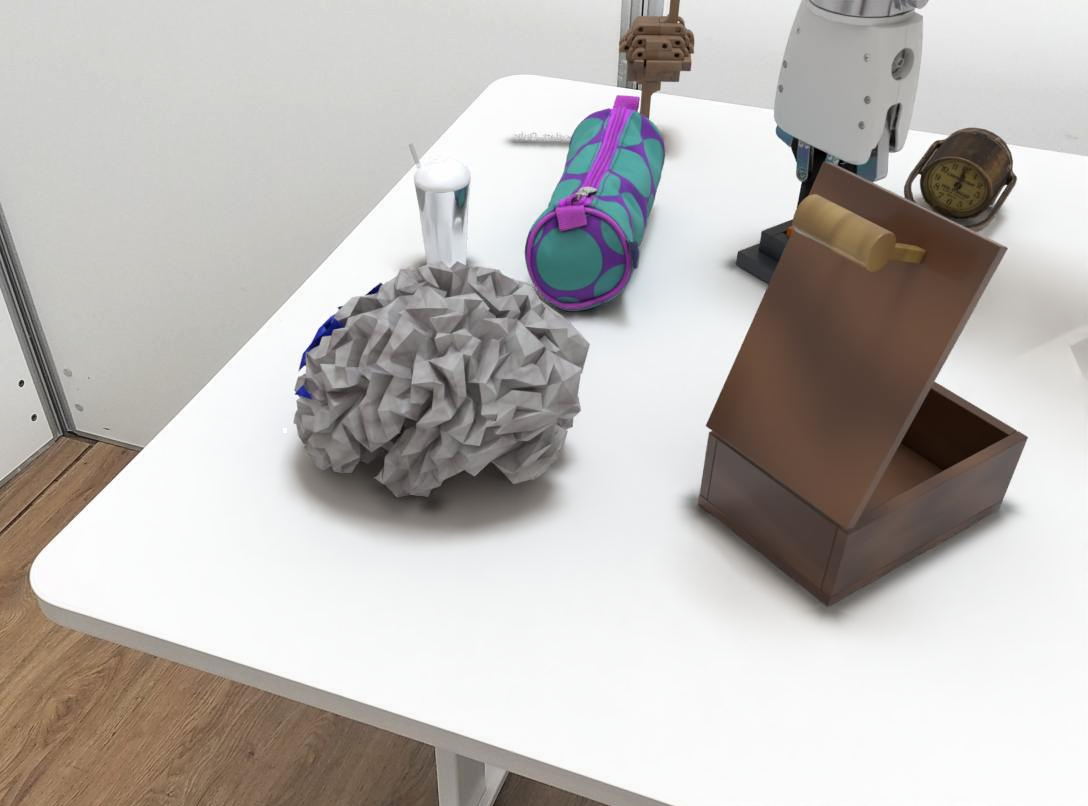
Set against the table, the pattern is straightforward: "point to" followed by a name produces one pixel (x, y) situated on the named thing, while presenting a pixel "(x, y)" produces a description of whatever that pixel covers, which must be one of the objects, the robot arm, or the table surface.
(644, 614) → the table surface
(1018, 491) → the table surface
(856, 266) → the case lid
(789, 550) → the brown wooden case body
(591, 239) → the pencil case
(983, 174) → the vintage brass clock
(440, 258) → the milkshake
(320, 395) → the educational model
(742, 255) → the push button base
